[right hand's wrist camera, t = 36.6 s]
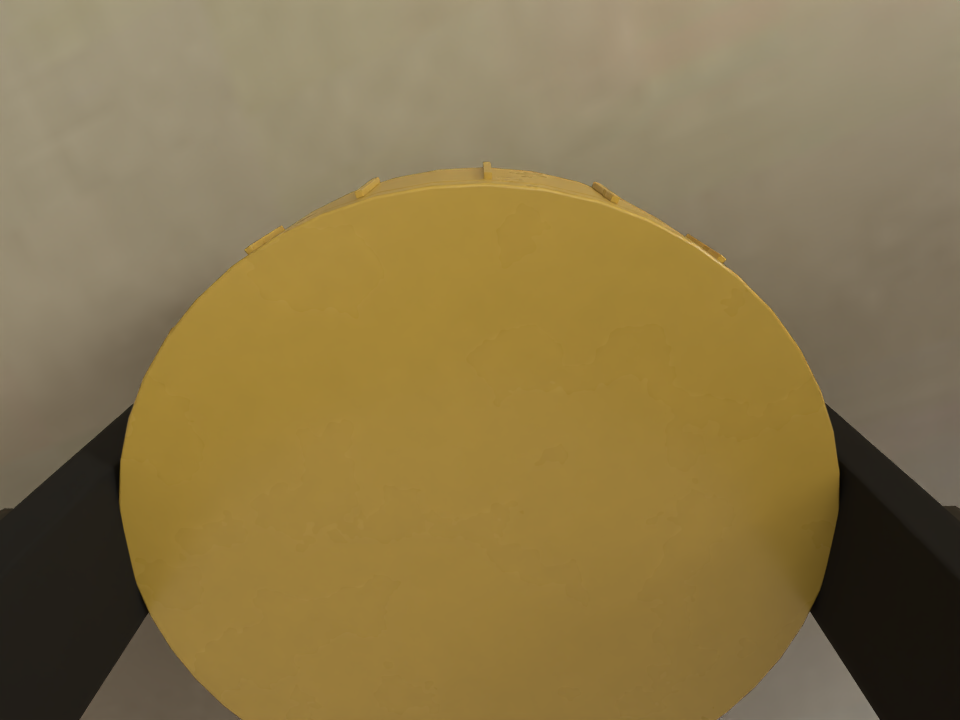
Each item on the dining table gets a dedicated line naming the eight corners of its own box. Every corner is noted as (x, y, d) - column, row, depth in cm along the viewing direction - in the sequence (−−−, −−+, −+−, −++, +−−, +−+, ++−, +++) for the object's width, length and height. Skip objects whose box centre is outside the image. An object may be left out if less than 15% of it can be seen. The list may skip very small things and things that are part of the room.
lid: (56, 466, 12) (-28, 540, 10) (489, 0, 9) (493, -27, 7) (472, 772, 15) (471, 879, 13) (897, 480, 12) (980, 556, 10)
